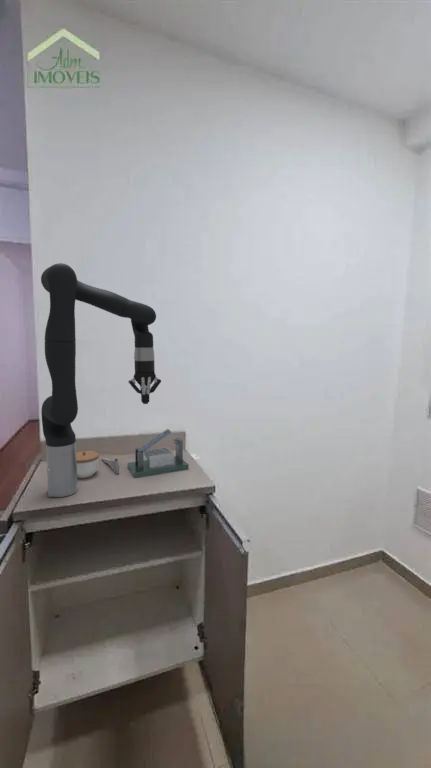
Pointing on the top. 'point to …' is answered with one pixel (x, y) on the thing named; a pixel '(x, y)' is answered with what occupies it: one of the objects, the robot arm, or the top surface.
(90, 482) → the top surface
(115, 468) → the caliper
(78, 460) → the lidded jar
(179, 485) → the top surface
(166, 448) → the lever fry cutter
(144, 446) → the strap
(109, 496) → the top surface
